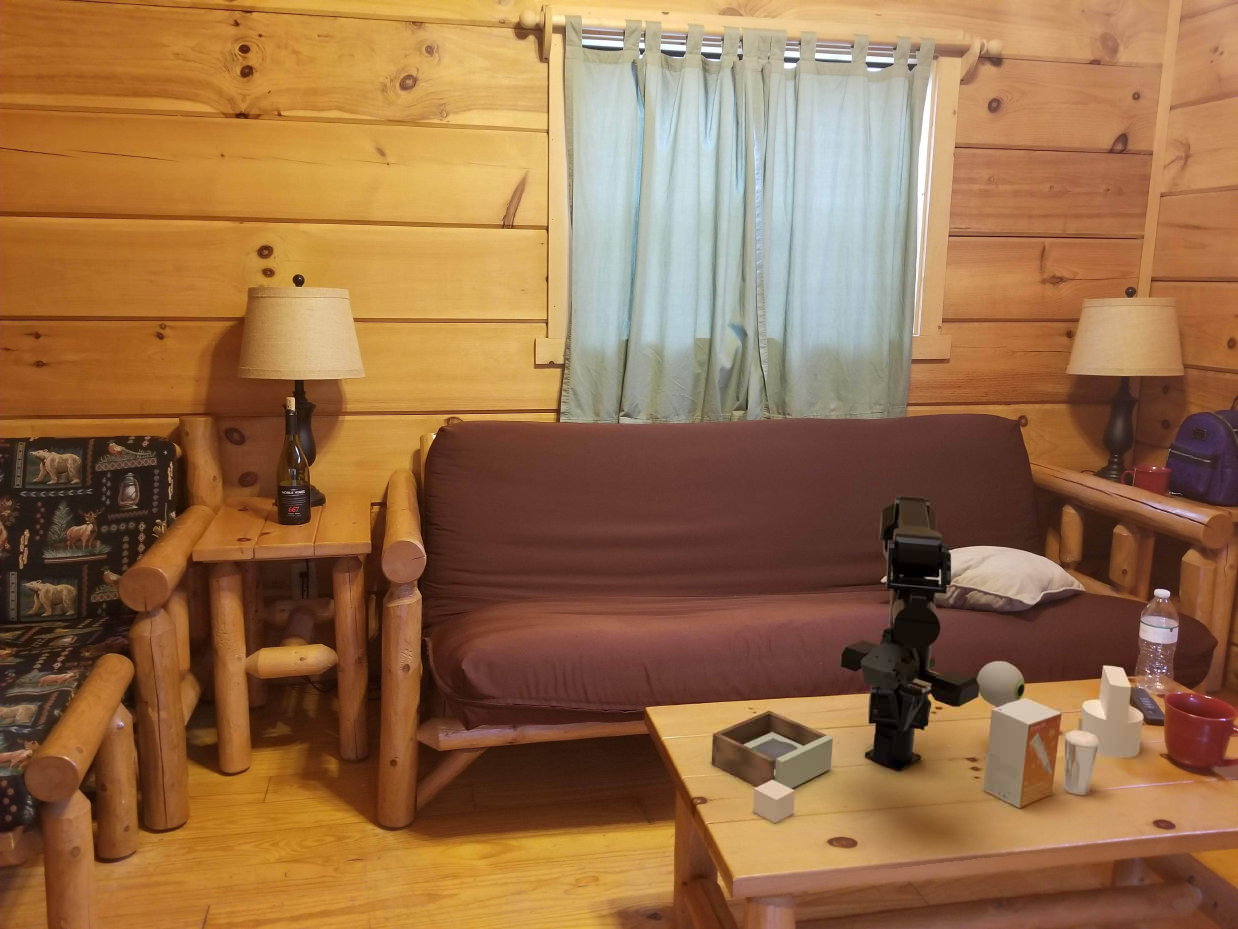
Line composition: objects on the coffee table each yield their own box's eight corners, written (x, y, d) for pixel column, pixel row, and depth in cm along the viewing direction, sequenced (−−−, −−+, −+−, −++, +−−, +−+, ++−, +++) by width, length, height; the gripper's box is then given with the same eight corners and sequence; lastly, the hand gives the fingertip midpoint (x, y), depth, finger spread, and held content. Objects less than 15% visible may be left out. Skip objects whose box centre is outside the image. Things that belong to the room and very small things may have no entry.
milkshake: (1090, 783, 150) (1097, 721, 148) (1094, 800, 145) (1102, 736, 143) (1057, 778, 151) (1064, 716, 150) (1060, 794, 146) (1067, 731, 145)
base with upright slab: (1143, 762, 157) (1152, 690, 155) (1081, 752, 160) (1089, 682, 158) (1134, 738, 166) (1142, 670, 163) (1075, 729, 168) (1083, 662, 166)
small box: (1019, 810, 142) (1028, 724, 139) (982, 790, 147) (990, 708, 145) (1053, 795, 146) (1063, 712, 144) (1015, 777, 151) (1024, 696, 149)
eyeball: (1003, 766, 155) (1012, 674, 152) (962, 749, 160) (970, 661, 157) (1025, 752, 159) (1035, 664, 157) (984, 737, 165) (992, 651, 162)
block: (771, 802, 142) (772, 779, 141) (793, 813, 139) (794, 790, 138) (752, 811, 139) (754, 788, 139) (775, 823, 136) (776, 800, 136)
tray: (723, 765, 152) (724, 734, 151) (773, 742, 160) (775, 713, 159) (780, 794, 144) (782, 761, 143) (830, 768, 152) (832, 738, 151)
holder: (711, 764, 153) (712, 733, 152) (767, 739, 162) (769, 710, 161) (769, 793, 145) (771, 761, 144) (825, 765, 153) (827, 735, 152)
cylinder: (774, 748, 156) (775, 737, 156) (807, 763, 151) (808, 751, 151) (748, 761, 152) (749, 749, 151) (781, 777, 147) (782, 764, 147)
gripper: (819, 617, 138) (813, 722, 140) (941, 656, 124) (931, 772, 127) (866, 601, 145) (859, 702, 148) (986, 637, 131) (975, 747, 134)
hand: (902, 729), depth 139 cm, fingers closed
